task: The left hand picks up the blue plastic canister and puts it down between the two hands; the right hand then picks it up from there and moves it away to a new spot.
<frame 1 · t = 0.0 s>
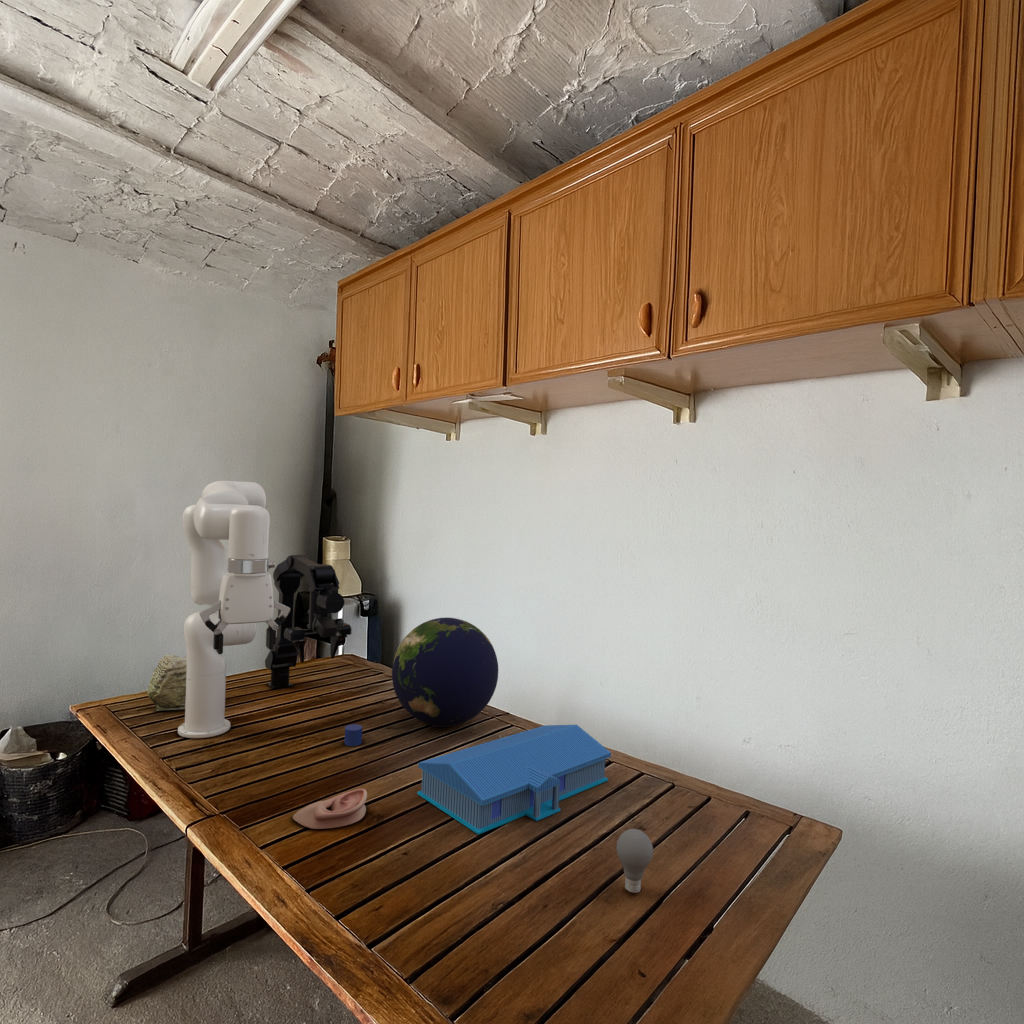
left hand: (244, 650, 130), 31 cm above the table, tool pointing down, fingers open, 9 cm apart
right hand: (317, 660, 187), 15 cm above the table, tool pointing down, fingers open, 9 cm apart
canister: (353, 742, 163), on the table
anatomical model: (330, 816, 126), on the table
globe: (443, 724, 180), on the table
fossil: (183, 706, 185), on the table
model building: (520, 790, 141), on the table
light bulb: (632, 891, 106), on the table
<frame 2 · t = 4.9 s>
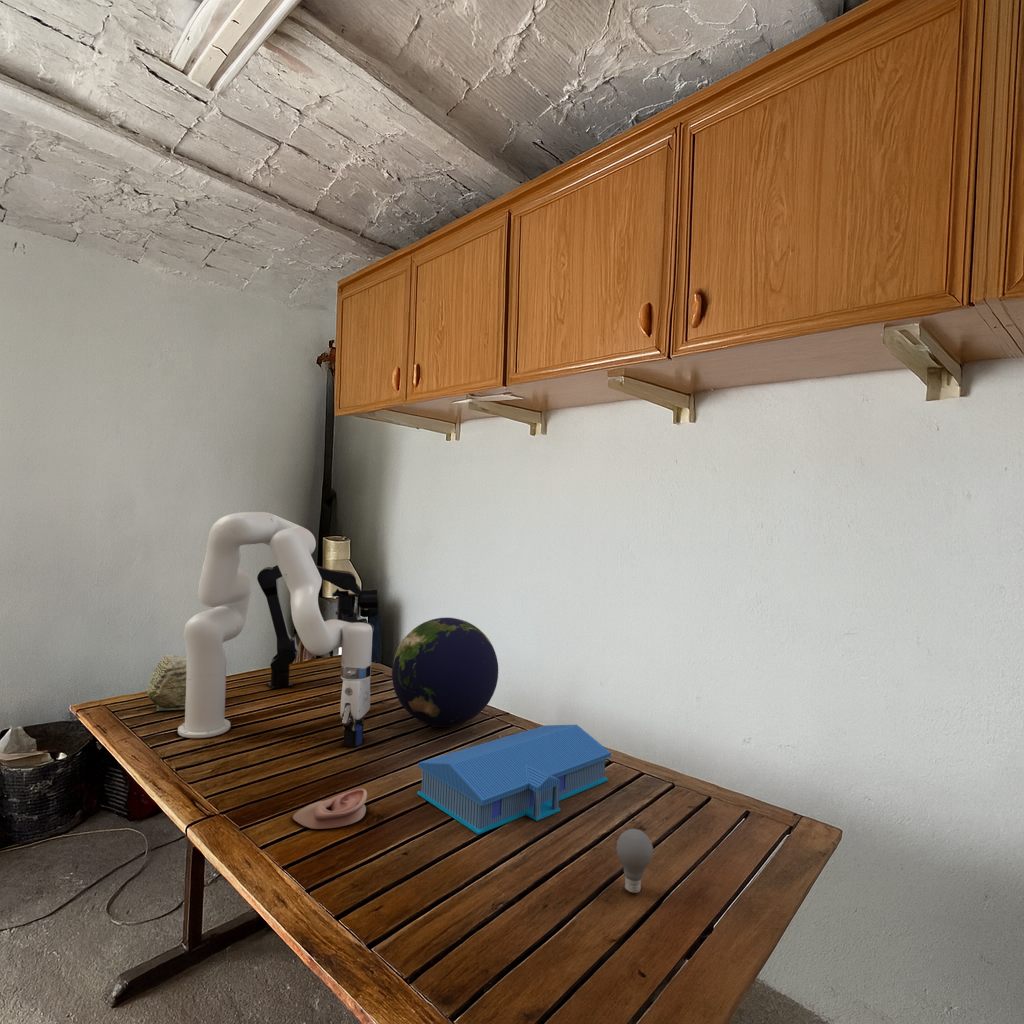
left hand: (353, 741, 163), 0 cm above the table, tool pointing down, fingers closed on canister, 4 cm apart
right hand: (344, 655, 214), 10 cm above the table, tool pointing down, fingers open, 9 cm apart
canister: (353, 742, 163), on the table, touching left hand
everything else where it was.
when the left hand's fingers open (1 cm above the table, at t = 10.8 s): canister stays where it is, on the table.
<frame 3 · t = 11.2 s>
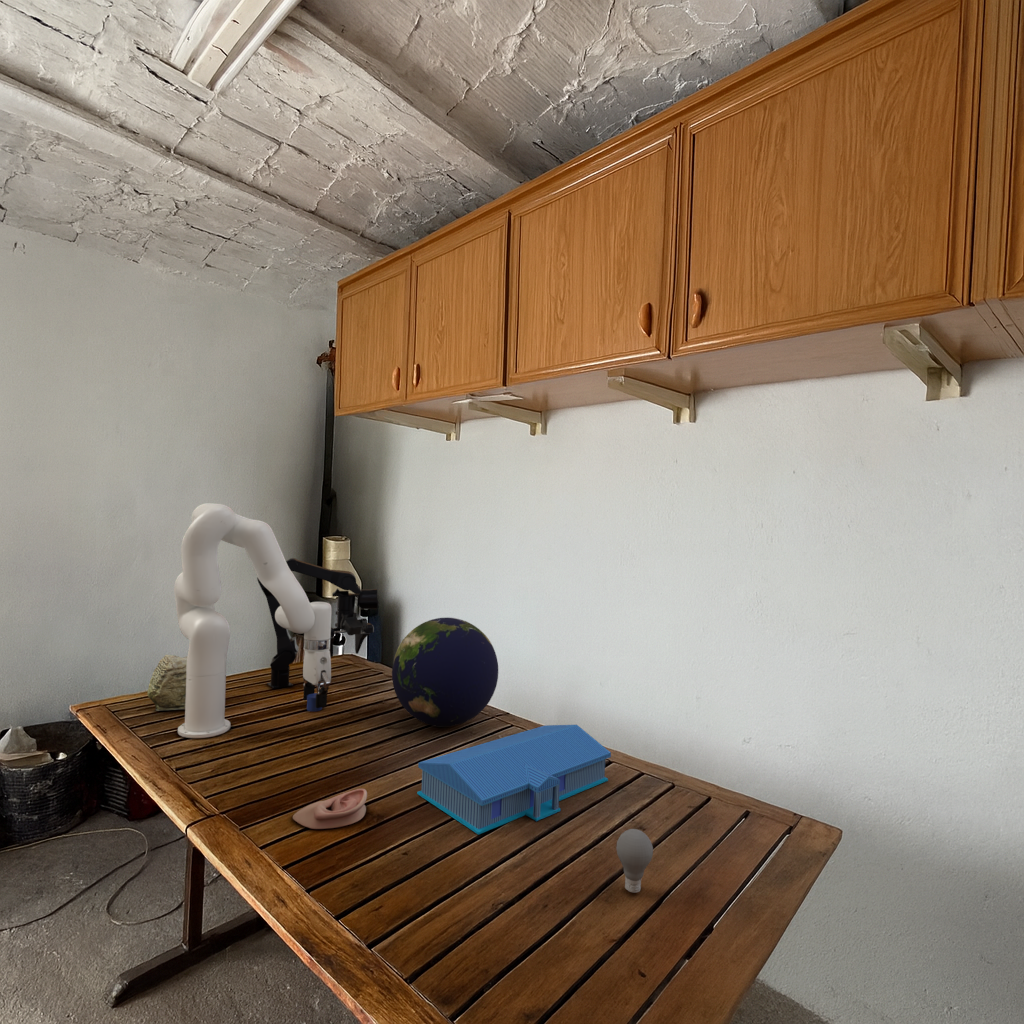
left hand: (314, 702, 188), 2 cm above the table, tool pointing down, fingers open, 8 cm apart
right hand: (344, 655, 214), 10 cm above the table, tool pointing down, fingers open, 9 cm apart
canister: (314, 709, 188), on the table
everything else where it was.
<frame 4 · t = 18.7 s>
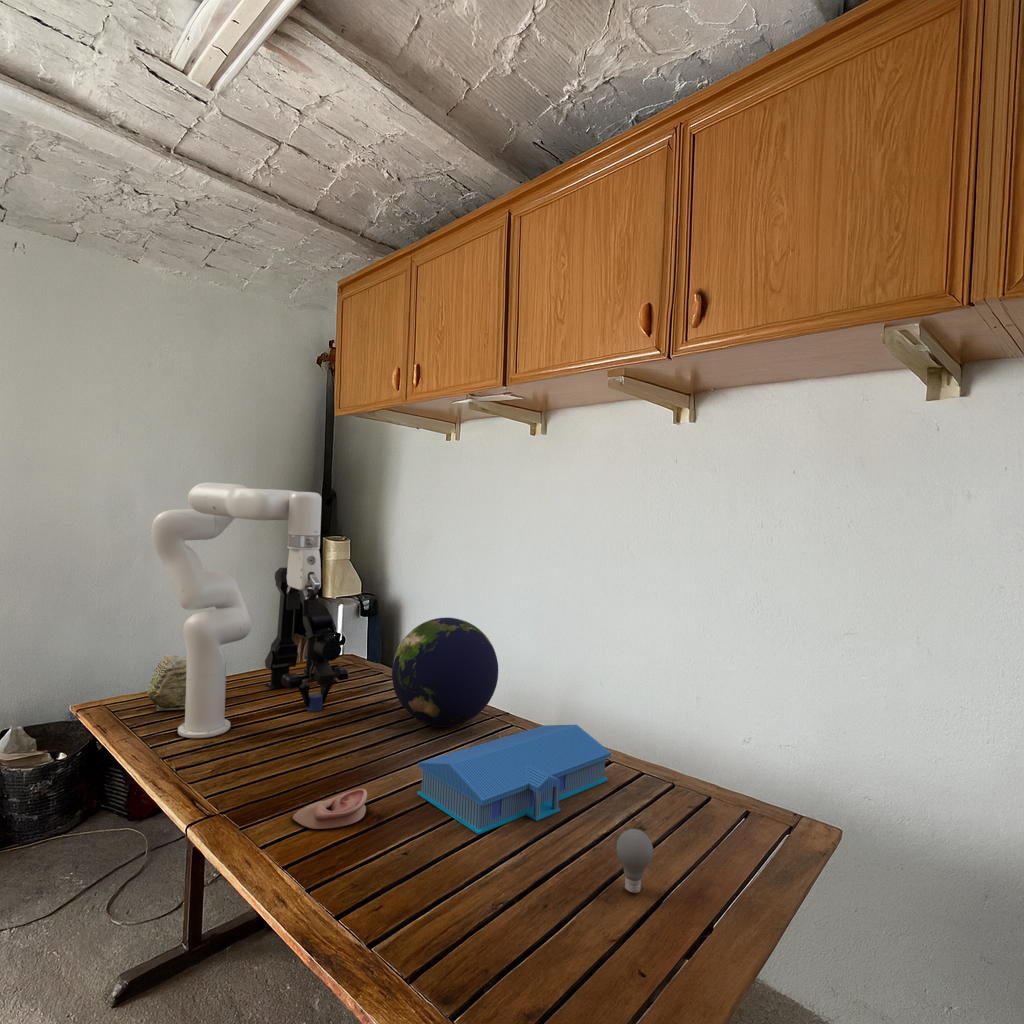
left hand: (301, 612, 154), 35 cm above the table, tool pointing down, fingers open, 9 cm apart
right hand: (314, 705, 188), 1 cm above the table, tool pointing down, fingers closed on canister, 4 cm apart
canister: (314, 709, 188), on the table, touching right hand
everything else where it was.
when the right hand's fingers open (2 cm above the table, at t = 25.1 s): canister stays where it is, on the table.
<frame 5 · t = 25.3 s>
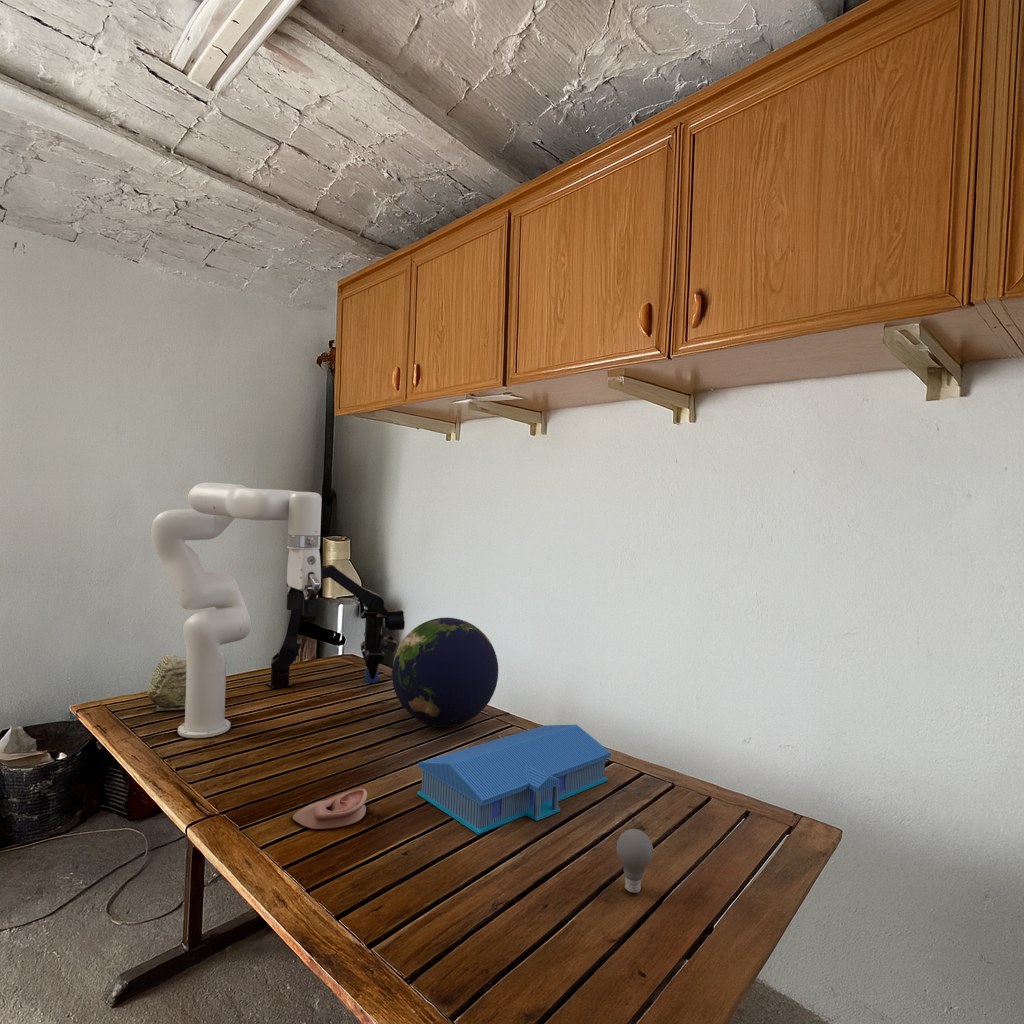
left hand: (301, 612, 154), 35 cm above the table, tool pointing down, fingers open, 9 cm apart
right hand: (371, 675, 218), 2 cm above the table, tool pointing down, fingers open, 7 cm apart
canister: (371, 681, 218), on the table
everything else where it was.
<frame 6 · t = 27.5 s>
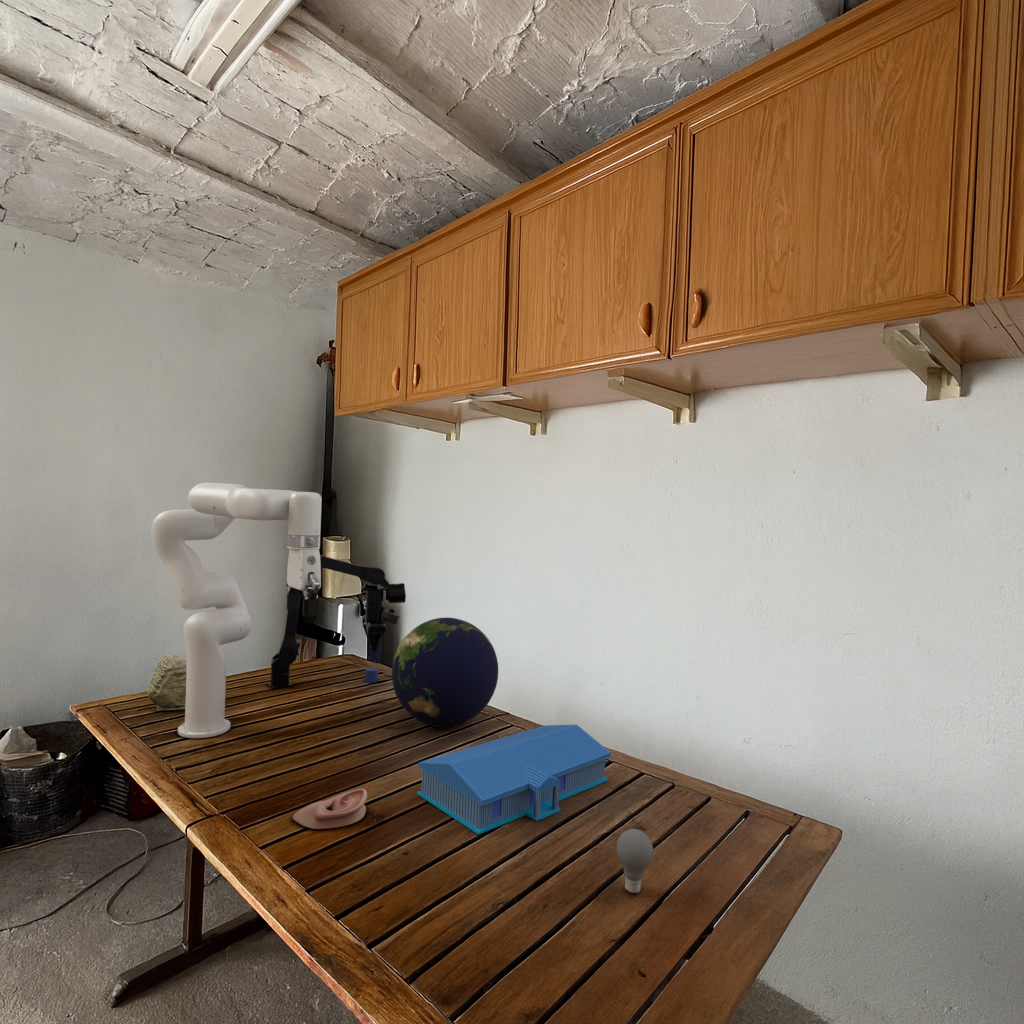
left hand: (301, 612, 154), 35 cm above the table, tool pointing down, fingers open, 9 cm apart
right hand: (372, 648, 218), 11 cm above the table, tool pointing down, fingers open, 9 cm apart
nothing on the table moved.
at the end: canister inside the target area (0.1 cm from its centre), on the table; canister tilted 0°; the two hands never held the canister at the same time; the left hand is holding nothing; the right hand is holding nothing; canister at rest at the end (0.0 cm/s) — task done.
